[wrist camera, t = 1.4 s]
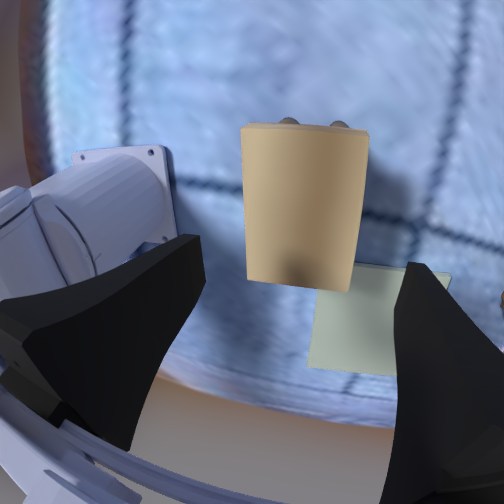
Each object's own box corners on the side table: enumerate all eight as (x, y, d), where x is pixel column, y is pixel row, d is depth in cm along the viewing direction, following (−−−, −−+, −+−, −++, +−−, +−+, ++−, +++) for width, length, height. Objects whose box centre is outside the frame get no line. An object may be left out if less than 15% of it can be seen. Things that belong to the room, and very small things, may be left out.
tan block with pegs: (270, 228, 22) (247, 279, 17) (269, 112, 17) (240, 128, 13) (348, 236, 20) (348, 292, 16) (359, 118, 16) (369, 136, 11)
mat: (307, 362, 28) (306, 366, 28) (321, 258, 22) (320, 262, 22) (405, 372, 26) (405, 376, 26) (449, 273, 20) (451, 277, 19)
